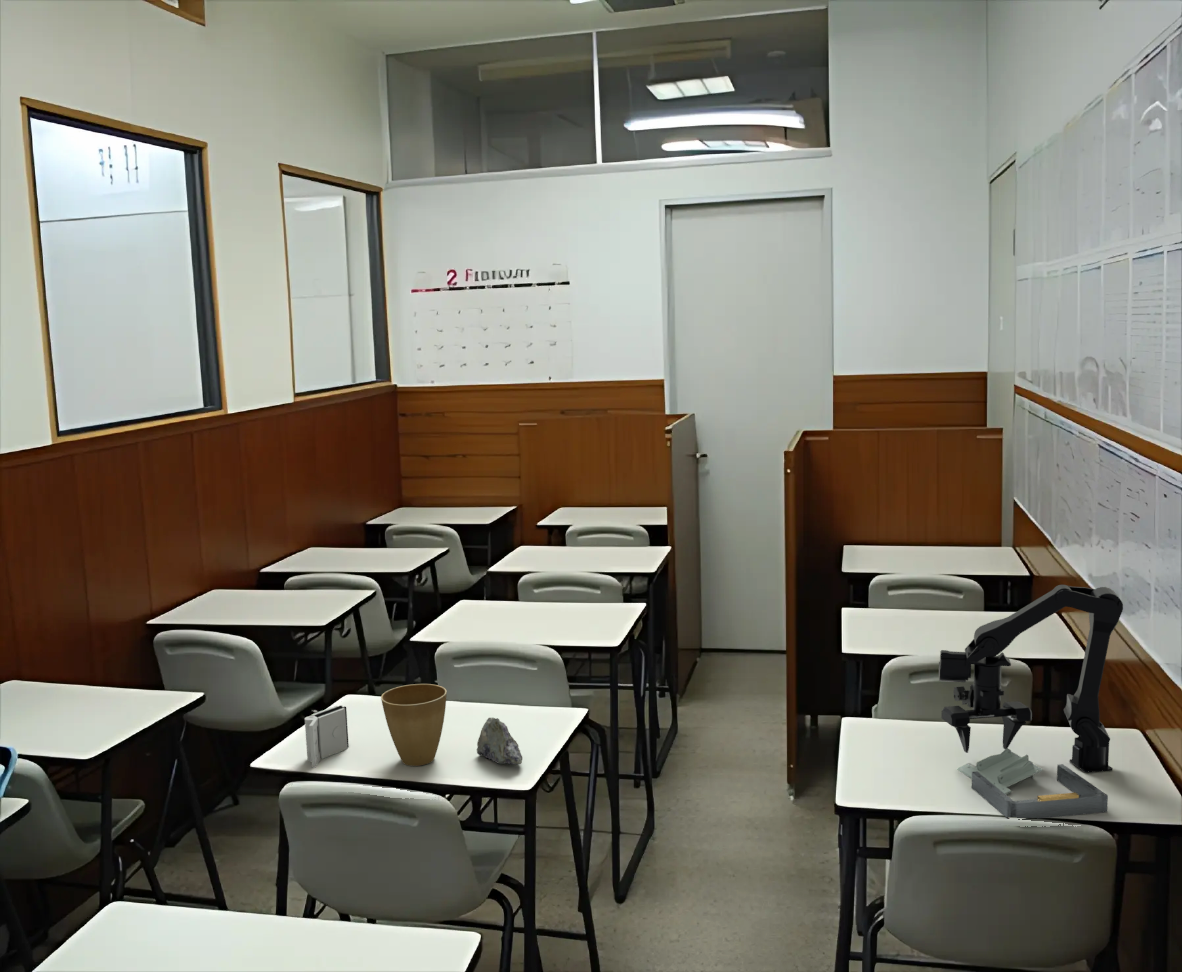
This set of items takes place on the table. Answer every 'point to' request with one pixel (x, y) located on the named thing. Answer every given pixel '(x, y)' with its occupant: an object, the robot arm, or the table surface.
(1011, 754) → the metal bracket
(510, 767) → the table surface
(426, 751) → the plant pot
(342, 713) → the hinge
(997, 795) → the rail dock
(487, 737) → the mineral rock
